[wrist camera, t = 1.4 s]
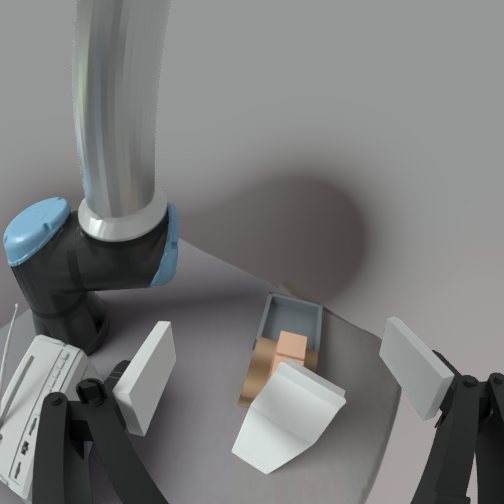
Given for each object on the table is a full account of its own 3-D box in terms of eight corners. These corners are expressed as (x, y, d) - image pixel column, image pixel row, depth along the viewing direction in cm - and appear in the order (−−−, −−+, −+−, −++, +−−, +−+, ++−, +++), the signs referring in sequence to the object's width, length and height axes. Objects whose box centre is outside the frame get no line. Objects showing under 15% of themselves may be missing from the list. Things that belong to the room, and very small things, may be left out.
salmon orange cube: (296, 372, 37) (304, 358, 35) (270, 366, 38) (276, 351, 36) (300, 351, 41) (307, 336, 38) (275, 345, 41) (281, 330, 39)
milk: (256, 423, 34) (299, 334, 21) (290, 444, 31) (362, 370, 19) (230, 452, 29) (255, 386, 17) (266, 475, 27) (330, 432, 14)
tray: (313, 364, 43) (318, 354, 42) (252, 349, 45) (255, 339, 43) (318, 315, 53) (322, 305, 51) (266, 302, 54) (269, 291, 53)
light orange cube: (292, 397, 34) (300, 385, 32) (264, 391, 34) (269, 378, 32) (296, 375, 37) (303, 361, 35) (270, 368, 38) (275, 354, 35)
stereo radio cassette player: (80, 512, 16) (-15, 491, 4) (33, 484, 16) (-64, 436, 4) (115, 396, 33) (68, 308, 21) (72, 379, 33) (17, 288, 21)
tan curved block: (302, 420, 35) (311, 410, 32) (237, 405, 36) (240, 394, 33) (310, 363, 44) (318, 350, 41) (254, 349, 45) (258, 336, 42)
